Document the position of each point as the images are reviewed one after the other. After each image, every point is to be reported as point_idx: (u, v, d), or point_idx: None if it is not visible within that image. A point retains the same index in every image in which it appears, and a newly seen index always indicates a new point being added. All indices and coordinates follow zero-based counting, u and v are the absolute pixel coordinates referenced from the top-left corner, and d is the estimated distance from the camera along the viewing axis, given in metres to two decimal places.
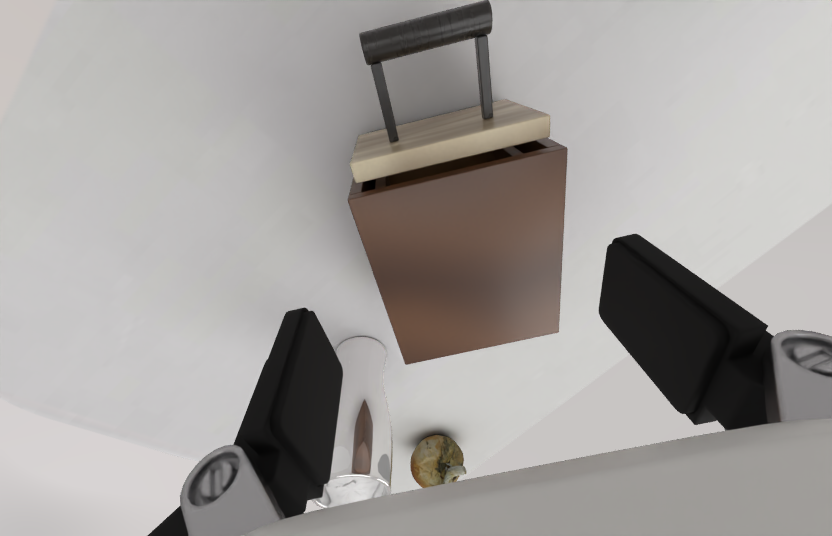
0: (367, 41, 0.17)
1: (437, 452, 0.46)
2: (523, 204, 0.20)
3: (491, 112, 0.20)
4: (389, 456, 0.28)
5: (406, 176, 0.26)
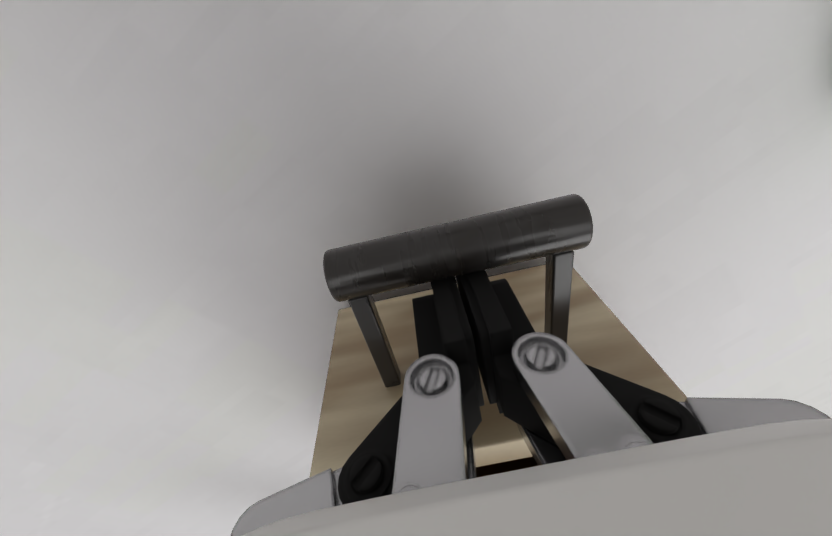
0: (339, 278, 0.09)
1: None
2: None
3: None
4: None
5: None
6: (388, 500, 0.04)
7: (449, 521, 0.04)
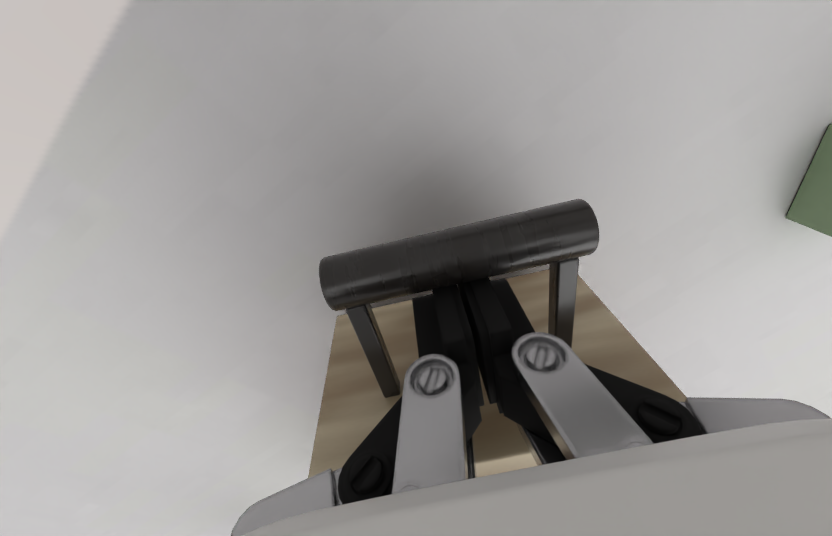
0: (335, 287, 0.08)
1: None
2: None
3: None
4: None
5: None
6: (388, 500, 0.04)
7: (449, 521, 0.04)
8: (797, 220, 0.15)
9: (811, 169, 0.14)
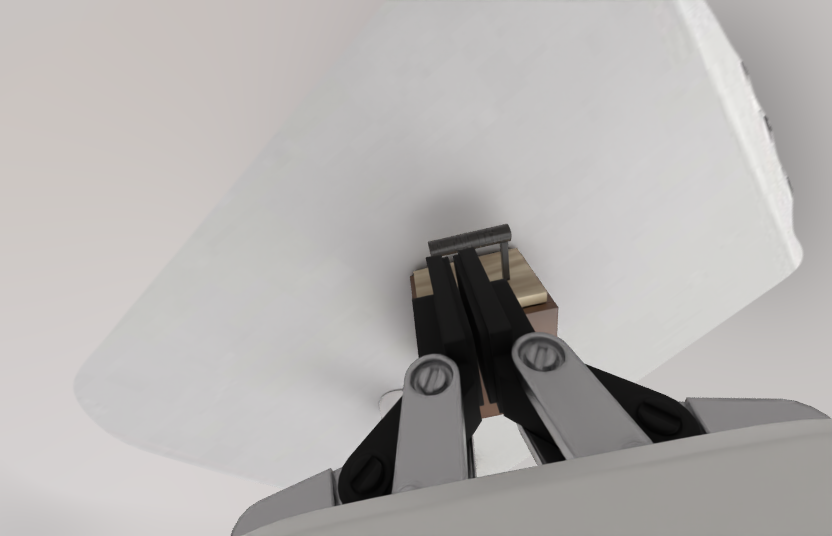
0: (434, 250, 0.28)
1: None
2: None
3: (509, 277, 0.30)
4: None
5: None
6: (388, 500, 0.04)
7: (449, 521, 0.04)
8: None
9: None
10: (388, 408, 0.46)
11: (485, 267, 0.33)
